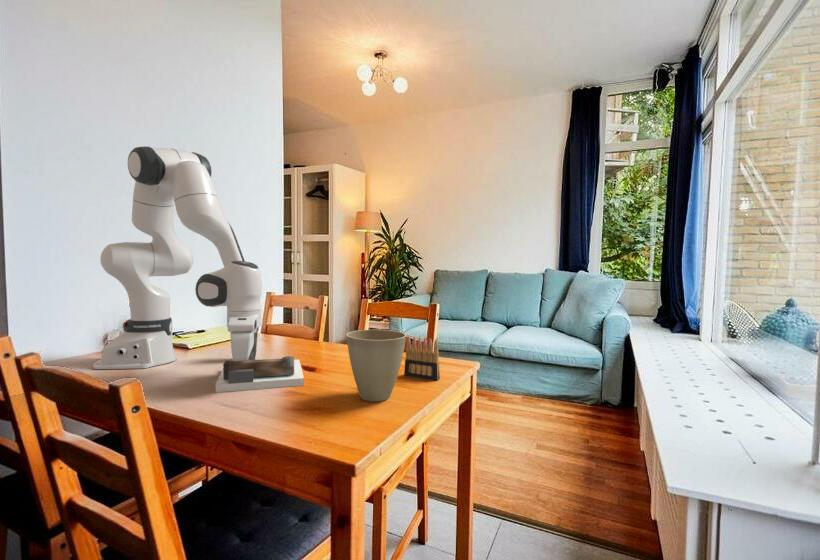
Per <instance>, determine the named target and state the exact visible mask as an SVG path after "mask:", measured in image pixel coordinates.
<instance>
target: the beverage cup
mask: <svg viewBox="0 0 820 560" xmlns="http://www.w3.org/2000/svg"><path fill="white" fill-rule="evenodd" d="M259 328H260V327H257V328H256V332H255V333H254V345H253V348H252V350H251V353H250V355H249V359H248V360H256V357H257V356H256V355H257V344H258V333H259Z"/></svg>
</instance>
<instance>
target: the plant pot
mask: <svg viewBox="0 0 820 560" xmlns="http://www.w3.org/2000/svg"><path fill="white" fill-rule="evenodd" d="M346 342H347V349H348V351H347V352H348V357H349V361H350V366H351V371H352V375H353V377H354V382H355V384H356V388H357V391H358V395H359V396H360V399H362V400H364V401H367V402H372V403H373V402H374V403H375V402H384V401H387V400H388V399H390V398H391V395H392V393H393V390H394V388H395V385H396V382H397V379H398V376H399V372H400V369H401V365H402V362H403V357H404V351H405V348H406V347H405V345H406V342H407V334H406V333H405V332H402V331H397V330H391V329H389V330H388V329H360V330H353V331H350V332H347V333H346Z"/></svg>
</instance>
